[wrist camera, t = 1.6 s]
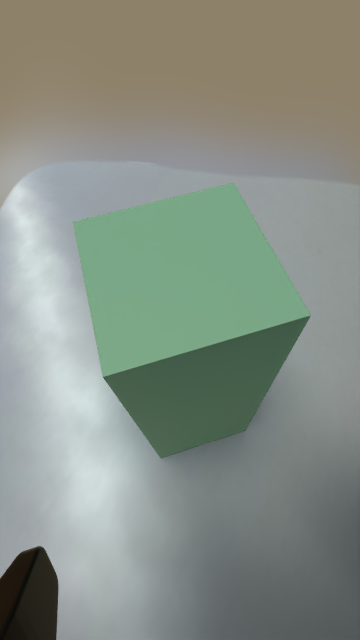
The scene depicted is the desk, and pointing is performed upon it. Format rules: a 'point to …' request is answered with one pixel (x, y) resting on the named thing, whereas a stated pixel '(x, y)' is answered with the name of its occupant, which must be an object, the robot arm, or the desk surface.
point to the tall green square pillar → (188, 313)
